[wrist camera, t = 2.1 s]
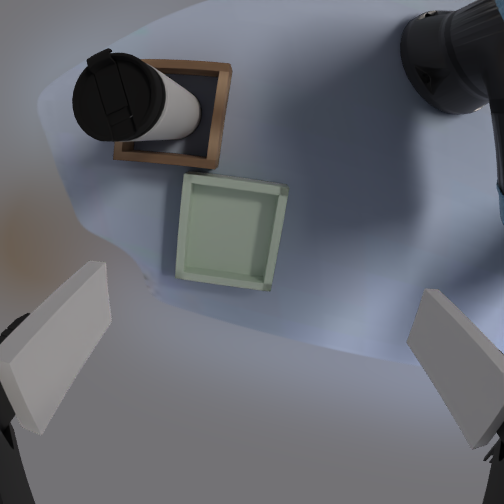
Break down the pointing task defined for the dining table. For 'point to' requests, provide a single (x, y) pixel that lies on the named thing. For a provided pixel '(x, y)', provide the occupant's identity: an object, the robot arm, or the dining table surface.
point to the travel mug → (132, 101)
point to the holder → (212, 160)
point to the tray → (229, 230)
